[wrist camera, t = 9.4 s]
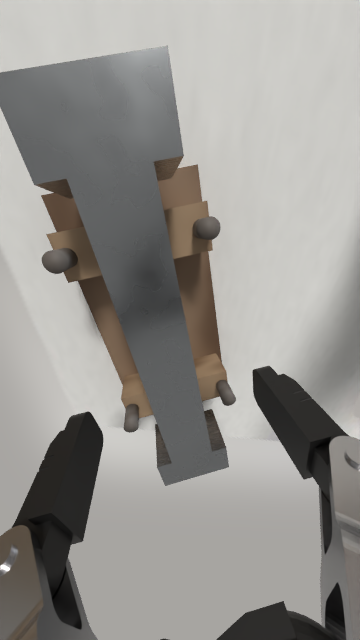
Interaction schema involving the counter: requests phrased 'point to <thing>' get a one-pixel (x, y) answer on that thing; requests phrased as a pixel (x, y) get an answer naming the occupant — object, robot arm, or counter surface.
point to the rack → (192, 274)
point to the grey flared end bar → (123, 219)
